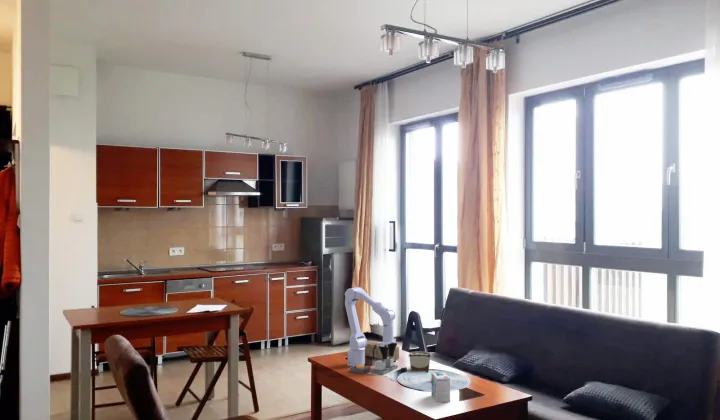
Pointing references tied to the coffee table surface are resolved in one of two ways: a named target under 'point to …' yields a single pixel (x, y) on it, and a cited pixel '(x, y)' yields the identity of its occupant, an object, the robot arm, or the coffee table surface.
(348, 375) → the coffee table surface
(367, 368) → the button housing
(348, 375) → the coffee table surface
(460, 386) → the coffee table surface
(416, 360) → the food container
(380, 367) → the seated billet
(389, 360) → the billet
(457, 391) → the coffee table surface
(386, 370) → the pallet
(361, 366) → the button
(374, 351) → the block tower
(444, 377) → the light bulb box
